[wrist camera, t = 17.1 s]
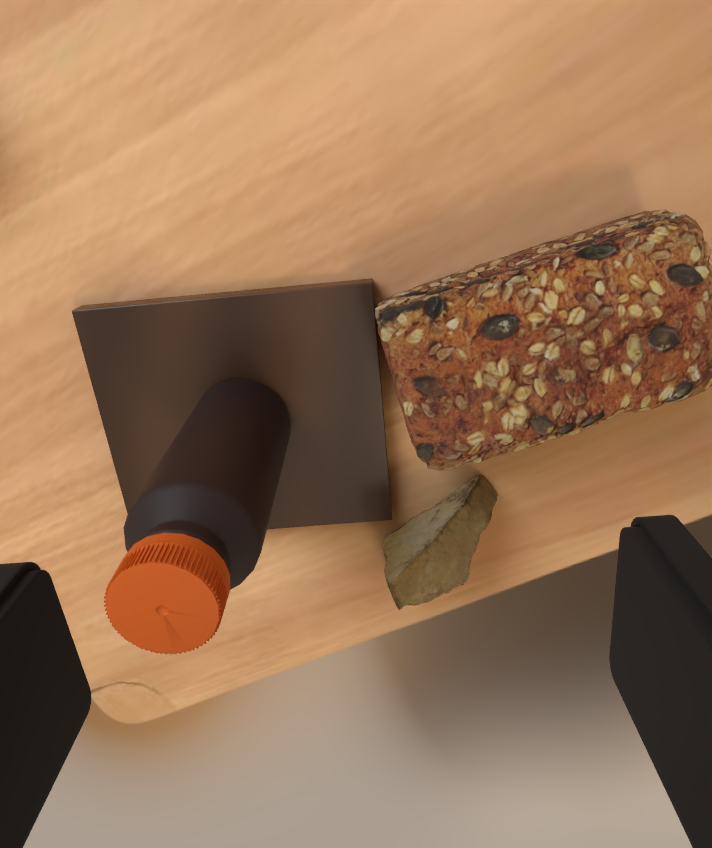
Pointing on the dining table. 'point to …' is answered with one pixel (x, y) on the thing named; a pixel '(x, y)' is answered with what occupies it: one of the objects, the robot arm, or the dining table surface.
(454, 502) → the rock
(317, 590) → the dining table surface
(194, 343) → the serving board
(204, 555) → the vinegar
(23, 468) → the dining table surface
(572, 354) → the bread
